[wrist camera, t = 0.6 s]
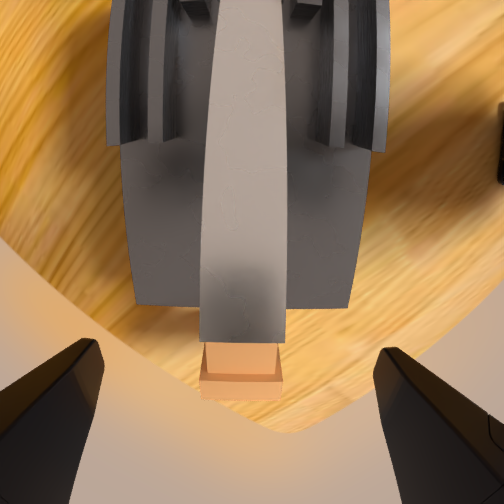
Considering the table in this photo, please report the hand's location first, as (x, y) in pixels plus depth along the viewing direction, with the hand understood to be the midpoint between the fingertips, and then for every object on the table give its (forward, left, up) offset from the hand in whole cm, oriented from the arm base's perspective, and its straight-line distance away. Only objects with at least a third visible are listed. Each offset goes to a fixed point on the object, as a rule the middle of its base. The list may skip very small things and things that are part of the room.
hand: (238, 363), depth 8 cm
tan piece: (0, +6, -13) cm, 14 cm away
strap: (0, -5, -6) cm, 8 cm away
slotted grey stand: (0, -5, -13) cm, 14 cm away
